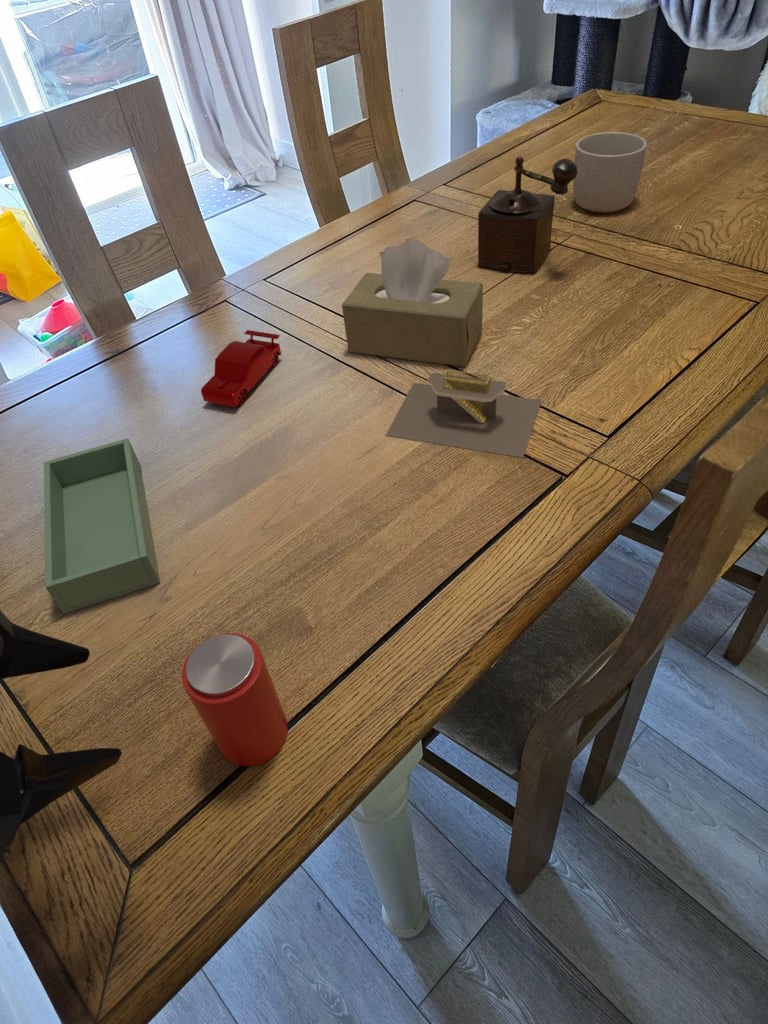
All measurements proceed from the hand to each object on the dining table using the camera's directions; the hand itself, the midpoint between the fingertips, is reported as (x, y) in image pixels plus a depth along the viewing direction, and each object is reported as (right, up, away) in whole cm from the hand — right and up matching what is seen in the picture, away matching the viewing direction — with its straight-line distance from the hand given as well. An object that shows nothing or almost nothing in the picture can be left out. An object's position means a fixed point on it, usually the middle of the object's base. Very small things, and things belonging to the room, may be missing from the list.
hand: (102, 702), depth 49 cm
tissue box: (+25, +39, +57) cm, 73 cm away
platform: (+30, +26, +43) cm, 58 cm away
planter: (+62, +72, +85) cm, 127 cm away
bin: (-13, +11, +33) cm, 38 cm away
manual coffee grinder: (+45, +57, +72) cm, 102 cm away
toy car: (0, +33, +53) cm, 62 cm away
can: (+8, -6, +14) cm, 17 cm away
